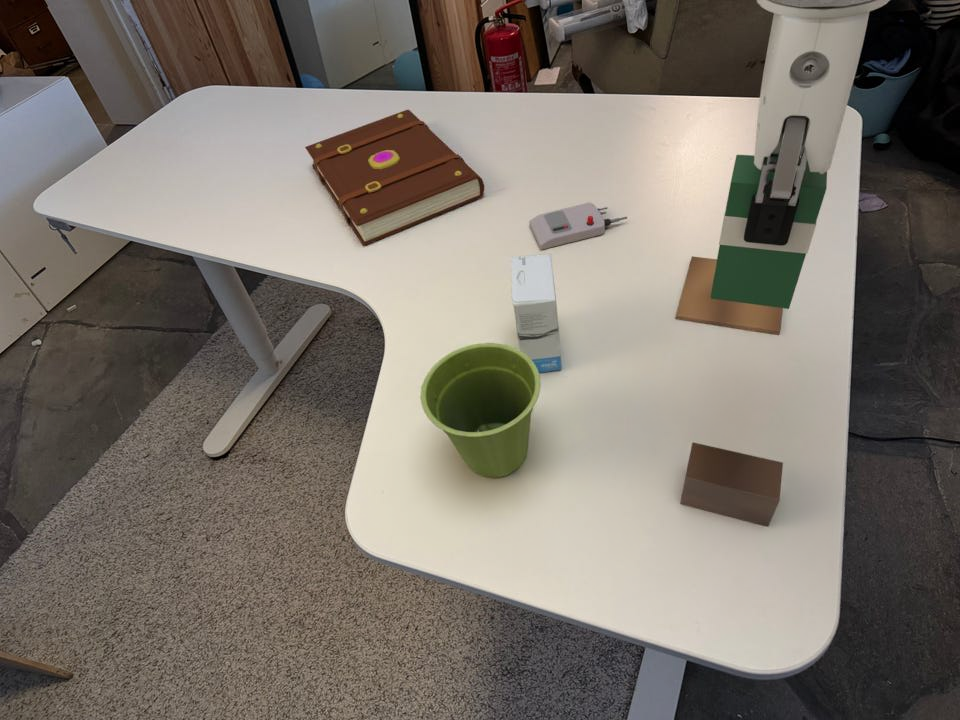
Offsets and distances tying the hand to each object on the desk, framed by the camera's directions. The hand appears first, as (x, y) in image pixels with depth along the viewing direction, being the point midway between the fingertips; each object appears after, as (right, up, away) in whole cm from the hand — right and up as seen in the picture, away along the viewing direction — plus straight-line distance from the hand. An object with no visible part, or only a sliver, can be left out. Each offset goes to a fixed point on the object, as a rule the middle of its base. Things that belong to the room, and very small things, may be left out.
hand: (767, 221), depth 49 cm
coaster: (+9, -3, +28) cm, 30 cm away
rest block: (+1, -25, +10) cm, 27 cm away
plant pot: (-22, -22, +18) cm, 35 cm away
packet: (+2, -3, +7) cm, 8 cm away
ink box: (-16, -10, +27) cm, 33 cm away
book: (-39, +21, +60) cm, 75 cm away
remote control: (-9, +9, +43) cm, 45 cm away
